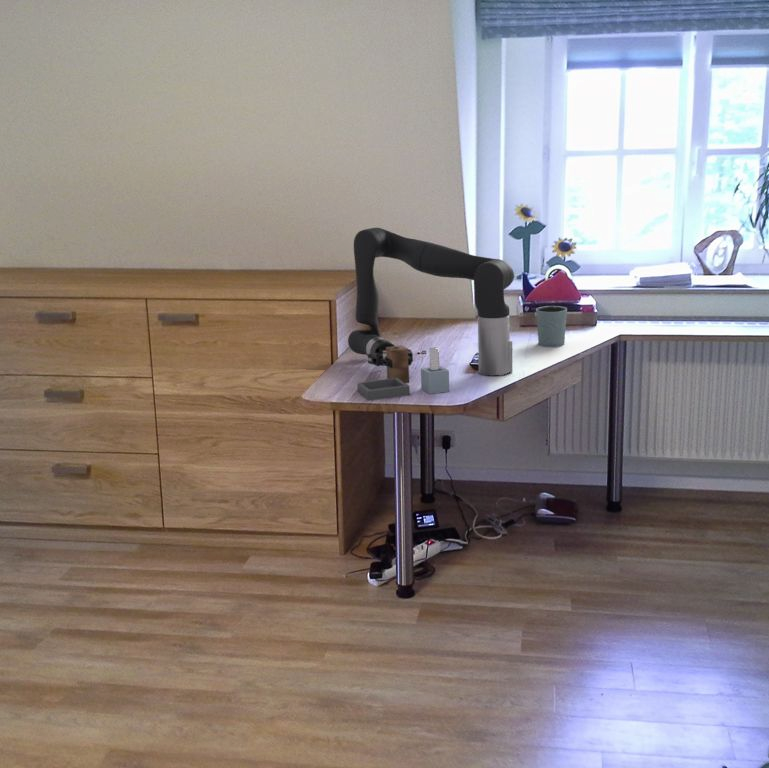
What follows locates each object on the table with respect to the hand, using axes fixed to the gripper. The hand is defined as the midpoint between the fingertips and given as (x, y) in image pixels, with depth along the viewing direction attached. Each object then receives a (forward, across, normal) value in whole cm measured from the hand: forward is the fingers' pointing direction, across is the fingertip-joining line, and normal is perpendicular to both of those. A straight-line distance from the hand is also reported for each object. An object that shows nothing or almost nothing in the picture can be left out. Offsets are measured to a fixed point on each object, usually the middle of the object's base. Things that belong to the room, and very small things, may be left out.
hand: (400, 363), depth 266 cm
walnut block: (-3, 0, +6) cm, 7 cm away
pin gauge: (+11, +6, +6) cm, 14 cm away
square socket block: (+11, +6, +6) cm, 14 cm away
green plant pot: (-24, +62, +6) cm, 67 cm away
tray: (+7, -8, +6) cm, 12 cm away
